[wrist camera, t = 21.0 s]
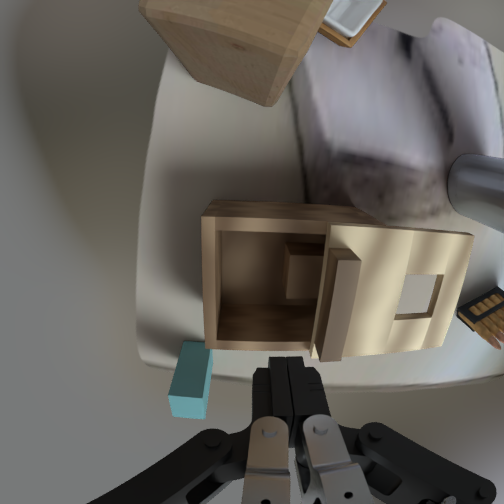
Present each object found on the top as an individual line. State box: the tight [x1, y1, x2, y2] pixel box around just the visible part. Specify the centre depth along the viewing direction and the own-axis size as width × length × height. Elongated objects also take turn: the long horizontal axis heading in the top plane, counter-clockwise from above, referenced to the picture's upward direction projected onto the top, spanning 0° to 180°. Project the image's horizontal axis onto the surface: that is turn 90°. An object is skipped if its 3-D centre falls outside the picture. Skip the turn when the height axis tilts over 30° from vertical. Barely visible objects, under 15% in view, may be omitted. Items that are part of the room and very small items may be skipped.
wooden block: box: [139, 0, 333, 107], centre depth 19 cm, size 10×10×20 cm
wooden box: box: [201, 200, 386, 351], centre depth 32 cm, size 17×14×9 cm
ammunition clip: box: [457, 287, 504, 350], centre depth 34 cm, size 11×2×12 cm, turn 108°
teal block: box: [168, 341, 213, 419], centre depth 36 cm, size 4×4×11 cm
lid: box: [309, 222, 474, 362], centre depth 26 cm, size 17×14×4 cm
